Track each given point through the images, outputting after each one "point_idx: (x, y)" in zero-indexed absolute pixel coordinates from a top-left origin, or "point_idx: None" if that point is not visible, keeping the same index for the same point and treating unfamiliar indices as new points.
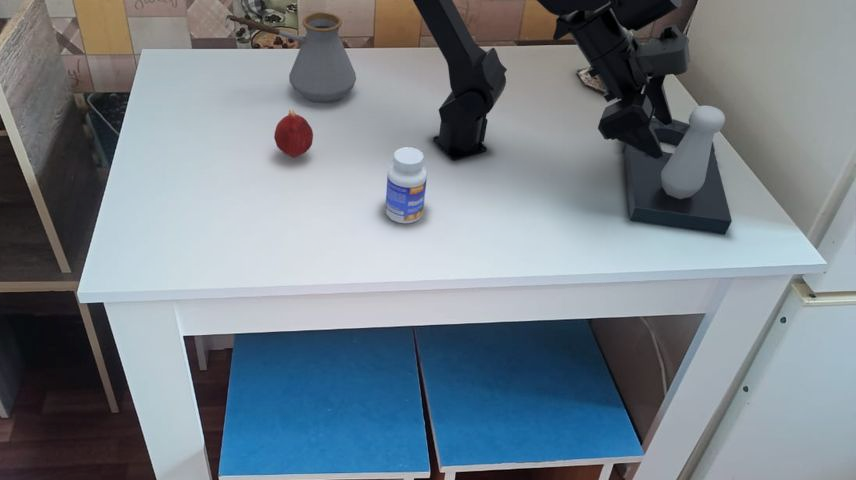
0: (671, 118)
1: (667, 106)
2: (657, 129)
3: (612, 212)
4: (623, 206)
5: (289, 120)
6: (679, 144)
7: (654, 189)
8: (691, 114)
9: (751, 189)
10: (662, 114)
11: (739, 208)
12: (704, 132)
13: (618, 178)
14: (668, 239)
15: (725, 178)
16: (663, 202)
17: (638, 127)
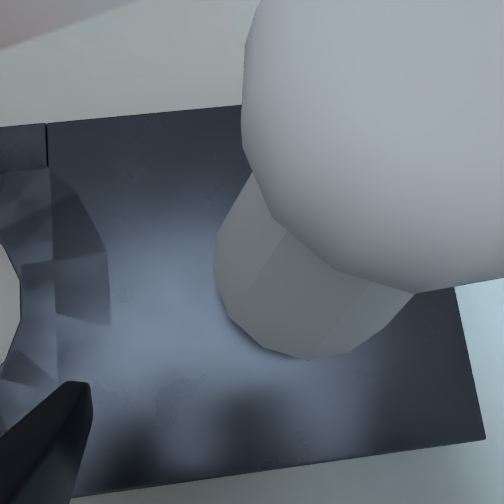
0: (67, 399)
1: (5, 495)
2: None
3: (428, 500)
4: (373, 460)
5: None
6: (345, 315)
7: (329, 366)
8: (476, 275)
9: (108, 31)
10: (54, 493)
11: (231, 72)
12: None
13: (192, 497)
14: (495, 290)
15: (65, 105)
16: (405, 326)
17: None
